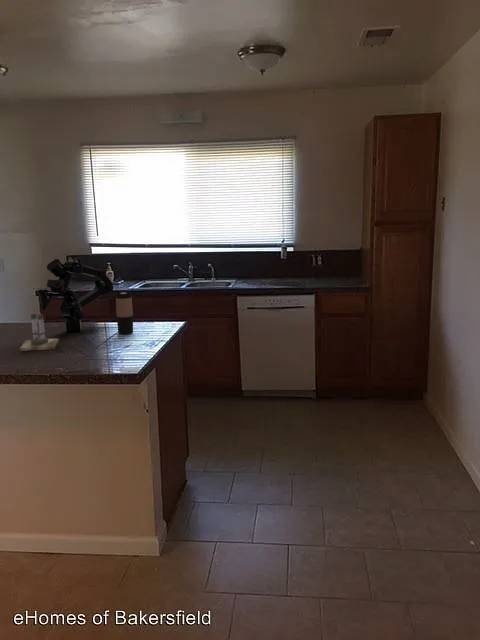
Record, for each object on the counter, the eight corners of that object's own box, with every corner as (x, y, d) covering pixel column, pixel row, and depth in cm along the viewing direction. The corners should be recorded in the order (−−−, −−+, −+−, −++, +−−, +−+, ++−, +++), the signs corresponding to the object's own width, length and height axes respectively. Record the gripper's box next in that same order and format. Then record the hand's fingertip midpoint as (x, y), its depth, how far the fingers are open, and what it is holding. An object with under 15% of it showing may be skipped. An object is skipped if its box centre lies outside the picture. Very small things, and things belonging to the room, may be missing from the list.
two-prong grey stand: (48, 342, 235) (45, 313, 232) (41, 344, 231) (39, 315, 228) (37, 341, 236) (35, 313, 233) (31, 344, 232) (28, 315, 229)
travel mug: (114, 333, 254) (111, 292, 250) (124, 330, 261) (122, 290, 257) (126, 335, 251) (124, 294, 246) (136, 332, 257) (134, 291, 253)
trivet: (58, 341, 242) (58, 338, 241) (54, 349, 228) (53, 346, 228) (26, 342, 239) (26, 340, 239) (19, 350, 226) (19, 348, 225)
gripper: (37, 272, 246) (25, 299, 238) (73, 273, 242) (61, 301, 234) (49, 286, 256) (37, 313, 248) (83, 287, 251) (72, 314, 243)
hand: (51, 310), depth 243 cm, fingers open, 9 cm apart
